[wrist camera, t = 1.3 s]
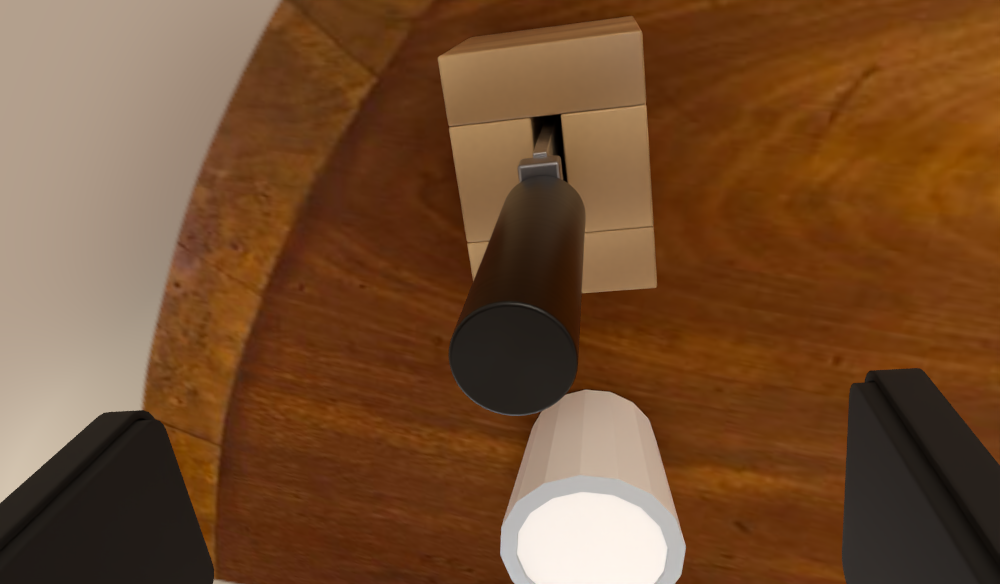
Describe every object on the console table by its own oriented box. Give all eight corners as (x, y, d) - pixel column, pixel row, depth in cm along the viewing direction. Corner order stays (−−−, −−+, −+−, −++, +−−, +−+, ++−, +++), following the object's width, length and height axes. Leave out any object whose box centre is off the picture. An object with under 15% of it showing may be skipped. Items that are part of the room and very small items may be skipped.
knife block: (468, 37, 28) (436, 56, 22) (633, 15, 27) (642, 29, 21) (497, 241, 31) (476, 302, 25) (646, 228, 30) (657, 288, 25)
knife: (527, 100, 29) (434, 285, 12) (586, 93, 28) (568, 274, 12) (536, 177, 30) (461, 439, 13) (593, 171, 29) (585, 434, 13)
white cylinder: (643, 520, 36) (652, 641, 29) (501, 482, 36) (480, 595, 29) (691, 400, 33) (713, 507, 26) (537, 359, 33) (523, 455, 27)
